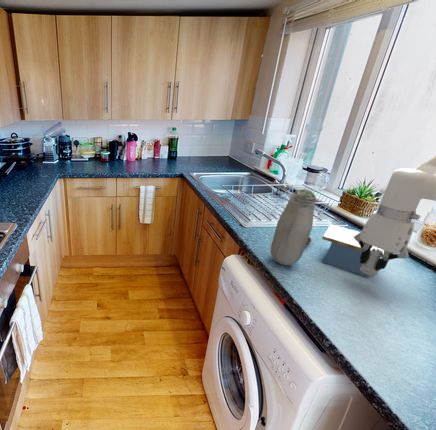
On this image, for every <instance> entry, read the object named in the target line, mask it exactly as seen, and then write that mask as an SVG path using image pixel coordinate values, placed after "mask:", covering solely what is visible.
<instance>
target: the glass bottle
mask: <svg viewBox="0 0 436 430" xmlns="http://www.w3.org/2000/svg"><path fill="white" fill-rule="evenodd" d="M316 203H317V197H316V195H315V193H314V192H313V191H311V190H309V189H304V188H303V189H297V190H295V191H294V192H292V194H291V195H290V197H289V199H288V201H287V203H286V205H285V208H284V210H283V211H282V212H281V214H280V216H279V218H278V220H277V223H276V227H275V230H274V235H273V238H272V242H271V245H270V255H271V258H272V259H273V260H274V261H275V262H276V263H277V264H279V265H283V266H292V265H294V264H296V263H298V261H300V260H301V258H302V256H303V254H304V252H305V249H306V246H307V245H306V243H307V241H308V238H309V237H310V235H311V232H312V229H313V225H314V212H315V208H316Z"/></svg>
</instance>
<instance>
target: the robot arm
mask: <svg viewBox="0 0 436 430" xmlns="http://www.w3.org/2000/svg"><path fill="white" fill-rule="evenodd" d="M422 199H423V200H428V201H429V200H430V201H433V202H436V155H434V156H433V157H430V158H429V159H428V160H426V161H423V162H422V163H420V164H419V165H417V166H416V167H415V168H398V169H396V170H394V171H393V172H392V174H391V176H390V178H389V180H388V183H387V186H386V188H385V191H384V193H383V195H382V197H381V200H380V203H379V205H378V207H377V209H376V210H375V211H373V212H372V213H371V215H370V216H369V218H368V219H367V221H366V222H365V224H364V225H363V227H362V229H361V231H359V232H360V233H359V234H357V235H356V236H354V239H355V240H356V241H357V242H358V243H359V245H360V246H361V248H362V249H361V250H362V251H363V252H362V254H361V256H360V259H361V261H360V263H361V264H362V263H365V262H367V260H368V259H369V255H370V251H371V250H370V249H371V248H372V246H375V247H378V248H380V249H383V250H384V254H383V257H380V259H379V261H378V263H377V266H376V268H375V269H376V270H377V271H378V270H379V271H381V270H382V269H383V270H385V268H386V267H387V264H388V263H389V261H391V260H395V259H408V258H409V257H410V255H409V251H408V248H407V247H408V245H409V243H410V240H411V238H412V235H413V230H414V227H415V220H416V221H419V220H420V218H421V215H419V214H417V209H418V206H419V205H420V202H421V200H422ZM379 271H378V272H379Z"/></svg>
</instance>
